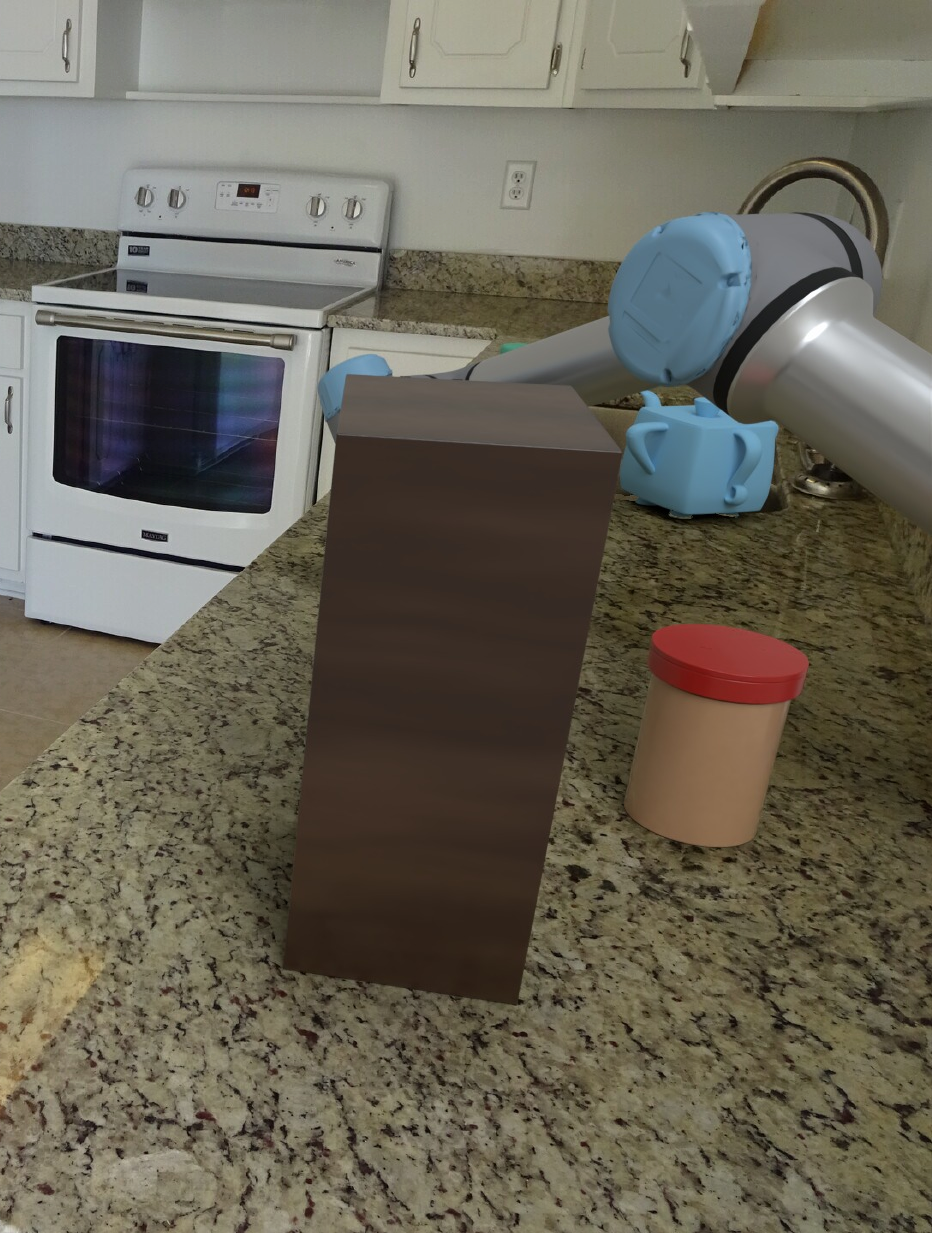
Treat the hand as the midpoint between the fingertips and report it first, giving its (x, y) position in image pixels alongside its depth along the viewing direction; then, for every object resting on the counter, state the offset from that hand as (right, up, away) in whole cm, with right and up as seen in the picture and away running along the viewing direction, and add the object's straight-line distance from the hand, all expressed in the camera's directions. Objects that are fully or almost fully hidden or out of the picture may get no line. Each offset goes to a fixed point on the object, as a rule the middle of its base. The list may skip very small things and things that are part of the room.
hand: (429, 395), depth 92 cm
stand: (-8, -34, -20) cm, 40 cm away
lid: (+14, -19, -14) cm, 28 cm away
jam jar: (+14, -30, -10) cm, 35 cm away
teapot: (+49, -1, +62) cm, 79 cm away
